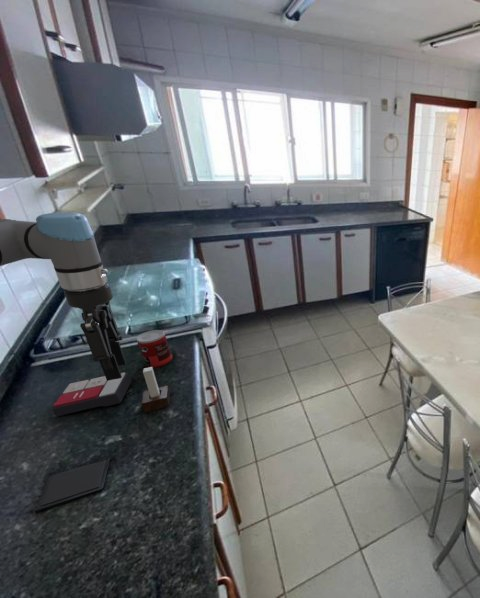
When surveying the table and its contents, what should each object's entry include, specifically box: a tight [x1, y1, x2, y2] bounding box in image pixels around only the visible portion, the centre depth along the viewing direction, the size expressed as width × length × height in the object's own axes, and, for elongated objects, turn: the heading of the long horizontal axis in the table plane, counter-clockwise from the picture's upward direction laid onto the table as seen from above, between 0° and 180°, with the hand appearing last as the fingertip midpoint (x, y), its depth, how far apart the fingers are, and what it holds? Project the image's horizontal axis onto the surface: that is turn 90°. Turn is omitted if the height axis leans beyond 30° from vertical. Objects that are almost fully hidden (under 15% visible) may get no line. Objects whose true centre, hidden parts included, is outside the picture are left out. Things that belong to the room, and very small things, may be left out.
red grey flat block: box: [51, 371, 133, 417], centre depth 98 cm, size 11×4×15 cm
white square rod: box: [142, 367, 161, 398], centre depth 96 cm, size 2×2×13 cm
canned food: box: [136, 329, 173, 369], centre depth 114 cm, size 8×8×11 cm
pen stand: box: [141, 385, 171, 414], centre depth 98 cm, size 6×6×4 cm
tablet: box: [34, 457, 111, 514], centre depth 75 cm, size 11×9×1 cm
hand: (116, 371), depth 82 cm, fingers open, 5 cm apart
